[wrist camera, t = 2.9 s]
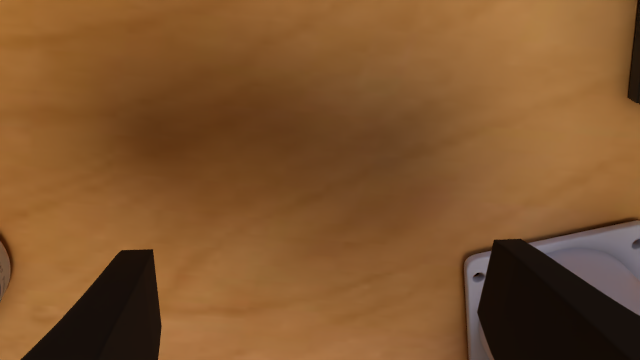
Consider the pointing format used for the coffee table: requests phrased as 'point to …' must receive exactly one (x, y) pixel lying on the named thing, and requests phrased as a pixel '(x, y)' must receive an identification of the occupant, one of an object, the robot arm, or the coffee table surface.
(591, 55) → the coffee table surface
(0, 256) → the pill bottle
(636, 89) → the open storage bin
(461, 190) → the coffee table surface
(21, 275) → the coffee table surface
